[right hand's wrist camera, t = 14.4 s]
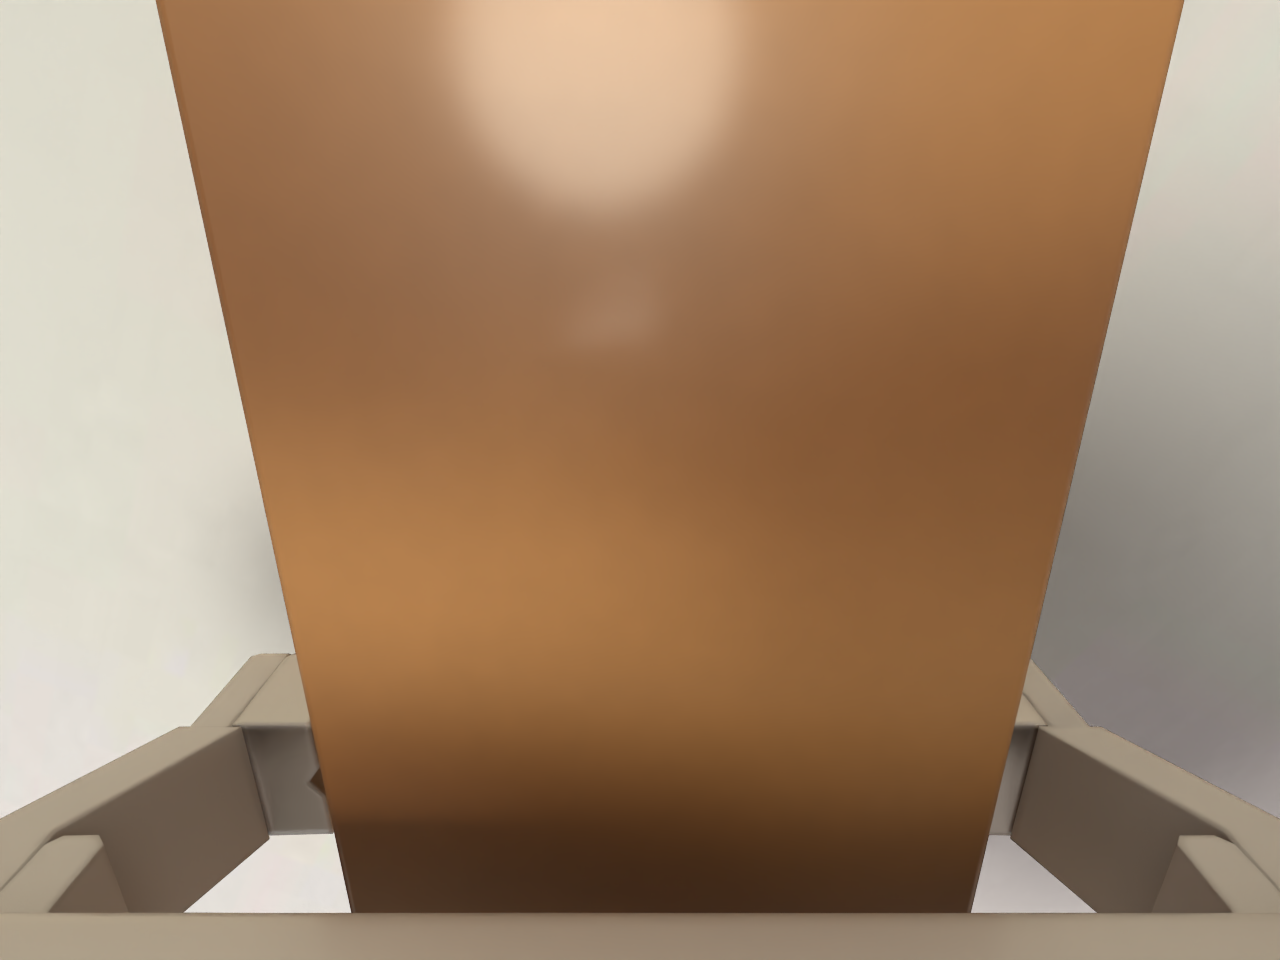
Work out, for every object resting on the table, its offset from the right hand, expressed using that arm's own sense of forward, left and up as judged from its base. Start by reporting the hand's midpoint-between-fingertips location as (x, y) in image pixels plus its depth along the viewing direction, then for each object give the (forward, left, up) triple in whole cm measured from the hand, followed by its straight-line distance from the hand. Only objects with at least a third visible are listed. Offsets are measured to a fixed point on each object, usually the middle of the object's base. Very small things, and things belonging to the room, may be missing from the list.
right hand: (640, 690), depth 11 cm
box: (+3, -5, -8) cm, 10 cm away
